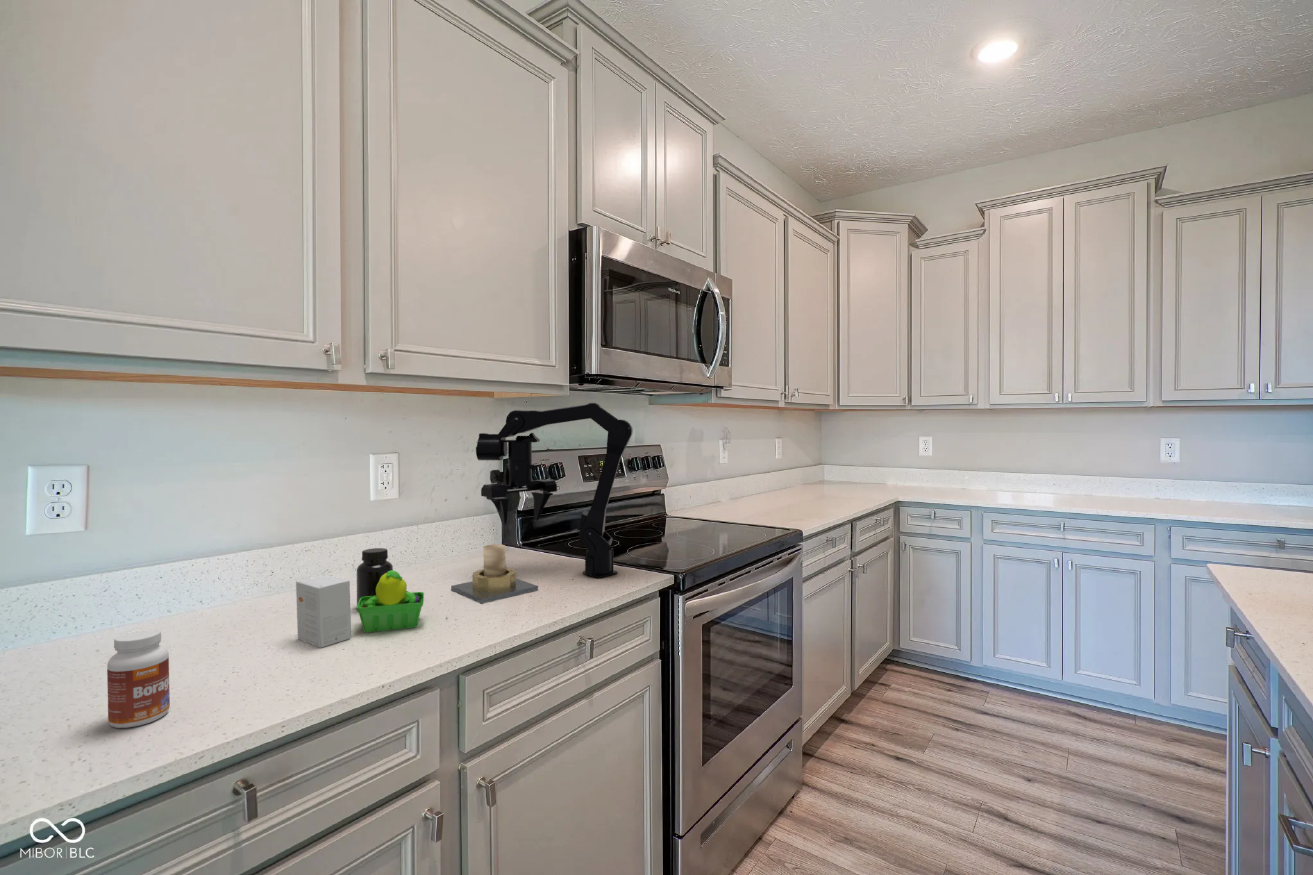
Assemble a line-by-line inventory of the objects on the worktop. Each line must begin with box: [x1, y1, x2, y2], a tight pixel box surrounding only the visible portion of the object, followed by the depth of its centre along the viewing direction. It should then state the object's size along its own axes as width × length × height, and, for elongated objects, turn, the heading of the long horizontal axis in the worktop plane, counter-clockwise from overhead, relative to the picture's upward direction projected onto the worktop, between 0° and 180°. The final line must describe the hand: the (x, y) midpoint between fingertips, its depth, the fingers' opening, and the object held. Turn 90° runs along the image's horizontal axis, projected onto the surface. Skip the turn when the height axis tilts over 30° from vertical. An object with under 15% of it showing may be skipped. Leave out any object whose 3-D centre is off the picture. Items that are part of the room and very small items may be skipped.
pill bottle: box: [106, 628, 171, 729], centre depth 79 cm, size 6×6×11 cm
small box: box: [295, 574, 352, 649], centre depth 108 cm, size 8×6×10 cm
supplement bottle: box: [356, 547, 394, 606], centre depth 125 cm, size 7×7×12 cm
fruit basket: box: [355, 569, 425, 633], centre depth 114 cm, size 11×9×11 cm
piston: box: [483, 543, 507, 577], centre depth 138 cm, size 5×5×9 cm
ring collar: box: [450, 567, 539, 604], centre depth 138 cm, size 14×14×4 cm
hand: (520, 522), depth 151 cm, fingers open, 9 cm apart
